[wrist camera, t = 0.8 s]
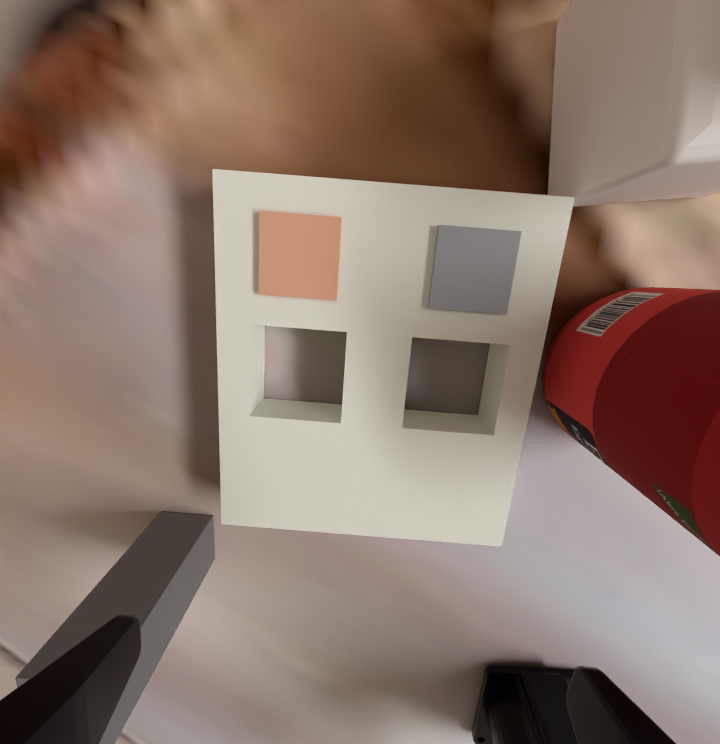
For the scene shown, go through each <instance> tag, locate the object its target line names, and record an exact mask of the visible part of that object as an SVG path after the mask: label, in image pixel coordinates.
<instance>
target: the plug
mask: <svg viewBox="0 0 720 744" xmlns="http://www.w3.org/2000/svg"><path fill="white" fill-rule="evenodd" d="M213 561H214V527H213V515H200V514H188V513H175V512H163V511H161V512H160V513H159V514H158V516H157V517H156V518H155V519H154V520H153V521H152V522H151V524H150V525H149V526H148V527H147V528H146V529H145V530H144V532H143V533H142V534H141V535H140V536H139V537H138V538H137V540H136V541H135V542H134V543H133V544H132V545H131V546H130V548H129V549H128V550H127V551H126V552H125V553H124V554H123V556H122V557H121V558H120V559H119V560H118V561H117V562H116V564H115V565H114V566H113V567H112V568H111V569H110V570H109V572H108V573H107V574H106V575H105V576H104V577H103V578H102V580H101V581H100V582H99V583H98V584H97V585H96V586H95V588H94V589H93V590H92V591H91V592H90V593H89V594H88V596H87V597H86V598H85V599H84V600H83V601H82V602H81V604H80V605H79V606H78V607H77V608H76V609H75V610H74V612H73V613H72V614H71V615H70V616H69V617H68V618H67V620H66V621H65V622H64V623H63V624H62V625H61V626H60V628H59V629H58V630H57V631H56V632H55V633H54V634H53V636H52V637H51V638H50V639H49V640H48V641H47V642H46V644H45V645H44V646H43V647H42V648H41V649H40V650H39V652H38V653H37V654H36V655H35V656H34V657H33V658H32V660H31V661H30V662H29V663H28V664H27V665H26V666H25V668H24V669H23V670H22V671H21V672H20V673H19V674H18V676H17V677H16V678H15V679H16V683H17V688H18V687H19V686H21V685H22V684H23V683H25V682H26V681H27V680H29V679H30V678H31V677H33V676H34V675H36V674H37V673H38V672H40V671H41V670H42V669H44V668H45V667H46V666H48V665H49V664H51V663H52V662H53V661H55V660H56V659H57V658H59V657H60V656H61V655H63V654H64V653H66V652H67V651H68V650H70V649H71V648H72V647H74V646H75V645H76V644H78V643H79V642H81V641H82V640H83V639H85V638H86V637H87V636H89V635H90V634H91V633H93V632H94V631H96V630H97V629H98V628H100V627H101V626H102V625H104V624H105V623H107V622H108V621H109V620H111V619H112V618H113V617H115V616H117V615H120V614H125V615H134V616H138V617H139V619H140V624H141V644H142V645H141V652H140V656H139V659H138V661H137V663H136V666H135V668H134V670H133V672H132V674H131V676H130V678H129V681H128V683H127V685H126V687H125V689H124V691H123V694H122V696H121V698H120V700H119V702H118V704H117V706H116V709H115V711H114V713H113V715H112V717H111V719H110V722H109V724H108V726H107V728H106V730H105V732H104V734H103V737H102V739H101V741H100V743H99V744H115V742H116V740H117V738H118V736H119V734H120V733H121V731H122V729H123V727H124V725H125V723H126V721H127V720H128V718H129V716H130V714H131V712H132V710H133V709H134V707H135V705H136V703H137V701H138V699H139V697H140V696H141V694H142V692H143V690H144V688H145V686H146V685H147V683H148V681H149V679H150V677H151V675H152V673H153V672H154V670H155V668H156V666H157V664H158V662H159V661H160V659H161V657H162V655H163V653H164V651H165V649H166V648H167V646H168V644H169V642H170V640H171V638H172V636H173V635H174V633H175V631H176V629H177V627H178V625H179V624H180V622H181V620H182V618H183V616H184V614H185V612H186V611H187V609H188V607H189V605H190V603H191V601H192V600H193V598H194V596H195V594H196V592H197V590H198V588H199V587H200V585H201V583H202V581H203V579H204V577H205V575H206V574H207V572H208V570H209V568H210V566H211V564H212V563H213Z"/></svg>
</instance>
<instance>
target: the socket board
mask: <svg viewBox="0 0 720 744" xmlns="http://www.w3.org/2000/svg"><path fill="white" fill-rule="evenodd" d="M212 174H213V213H214V252H215V291H216V330H217V369H218V408H219V447H220V486H221V524H225V525H238V526H250V527H263V528H275V529H288V530H301V531H313V532H326V533H338V534H351V535H363V536H376V537H389V538H401V539H414V540H426V541H439V542H451V543H464V544H477V545H489V546H502V542H503V538H504V533H505V528H506V523H507V519H508V514H509V509H510V504H511V499H512V495H513V490H514V485H515V480H516V476H517V471H518V466H519V461H520V456H521V452H522V447H523V442H524V437H525V433H526V428H527V423H528V418H529V413H530V409H531V404H532V399H533V394H534V390H535V385H536V380H537V375H538V370H539V366H540V361H541V356H542V351H543V347H544V342H545V337H546V332H547V327H548V323H549V318H550V313H551V308H552V303H553V299H554V294H555V289H556V284H557V280H558V275H559V270H560V265H561V260H562V256H563V251H564V246H565V241H566V237H567V232H568V227H569V222H570V217H571V213H572V208H573V203H574V198H575V197H564V196H551V195H538V194H526V193H513V192H500V191H487V190H475V189H462V188H449V187H436V186H424V185H411V184H398V183H385V182H373V181H360V180H347V179H334V178H322V177H309V176H296V175H283V174H271V173H258V172H245V171H232V170H219V169H212ZM265 326H276V327H288V328H301V329H314V330H326V331H339V332H347V340H346V354H345V369H344V384H343V399H342V404H331V403H318V402H306V401H293V400H280V399H268V398H264V368H265ZM412 337H415V338H428V339H441V340H453V341H466V342H479V343H490V347H489V353H488V359H487V364H486V370H485V376H484V382H483V388H482V394H481V400H480V406H479V411H478V415H470V414H457V413H445V412H432V411H420V410H407V409H404V406H405V398H406V389H407V380H408V371H409V363H410V354H411V345H412Z"/></svg>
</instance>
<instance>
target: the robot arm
mask: <svg viewBox="0 0 720 744" xmlns="http://www.w3.org/2000/svg"><path fill="white" fill-rule="evenodd" d="M141 645H142V644H141V624H140V619H139V617H138V616H134V615H125V614H120V615H117V616H115V617H113V618H112V619H111V620H109V621H108V622H107V623H105V624H104V625H102V626H101V627H100V628H98V629H97V630H96V631H94V632H93V633H91V634H90V635H89V636H87V637H86V638H85V639H83V640H82V641H81V642H79V643H78V644H76V645H75V646H74V647H72V648H71V649H70V650H68V651H67V652H66V653H64V654H63V655H61V656H60V657H59V658H57V659H56V660H55V661H53V662H52V663H51V664H49V665H48V666H46V667H45V668H44V669H42V670H41V671H40V672H38V673H37V674H36V675H34V676H33V677H31V678H30V679H29V680H27V681H26V682H25V683H23V684H22V685H21V686H19V687H18V688H17V689H15V690H14V691H12V692H11V693H10V694H8V695H7V696H6V697H4V698H3V699H1V700H0V744H99V743H100V741H101V739H102V737H103V734H104V732H105V730H106V728H107V726H108V724H109V722H110V719H111V717H112V715H113V713H114V711H115V709H116V706H117V704H118V702H119V700H120V698H121V696H122V694H123V691H124V689H125V687H126V685H127V683H128V681H129V678H130V676H131V674H132V672H133V670H134V668H135V666H136V663H137V661H138V659H139V656H140V652H141ZM472 736H473V740H474V742H475V744H676V743H675V742H674V741H673V740H672V739H671V738H670V737H669V736H668V735H667V734H666V733H665V732H664V731H663V730H662V729H661V728H660V727H659V726H657V725H656V724H655V723H654V722H653V721H652V720H651V719H650V718H649V717H648V716H647V715H646V714H645V713H644V712H643V711H642V710H641V709H640V708H639V707H638V706H637V705H636V704H635V703H634V702H633V701H632V700H631V699H630V698H629V697H628V696H627V695H626V694H625V693H624V692H623V691H622V690H621V689H620V688H618V687H617V686H616V685H615V684H614V683H613V682H612V681H611V680H610V679H609V678H608V677H607V676H606V675H605V674H604V673H603V672H602V671H600V670H599V669H597V668H594V667H586V666H578V667H576V668H575V670H574V672H568V671H556V670H543V669H531V668H518V667H506V666H489V667H488V668H487V669H486V670H485V674H484V679H483V684H482V688H481V693H480V697H479V702H478V707H477V711H476V716H475V720H474V725H473V729H472Z"/></svg>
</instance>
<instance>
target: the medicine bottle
mask: <svg viewBox="0 0 720 744" xmlns="http://www.w3.org/2000/svg"><path fill="white" fill-rule="evenodd" d="M717 193H720V0H573V1H572V2H571V3H570V5H569V6H568V7H567V9H566V10H565V11H564V13H563V14H562V15H561V17H560V18H559V21H558V24H557V28H556V46H555V65H554V84H553V102H552V121H551V140H550V158H549V177H548V195H551V196H564V197H575V198H574V203H573V207H576V206H588V205H601V204H613V203H626V202H638V201H650V200H663V199H675V198H688V197H700V196H708V195H712V194H717Z"/></svg>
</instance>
